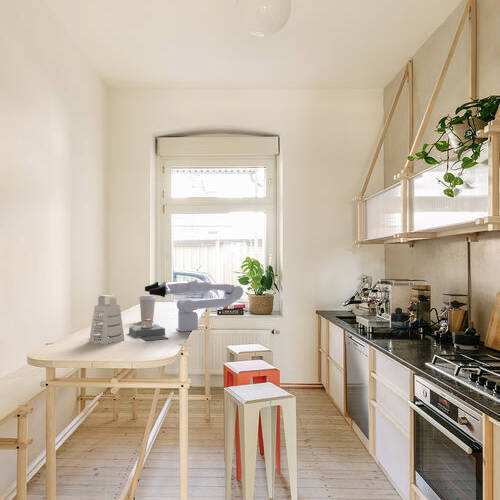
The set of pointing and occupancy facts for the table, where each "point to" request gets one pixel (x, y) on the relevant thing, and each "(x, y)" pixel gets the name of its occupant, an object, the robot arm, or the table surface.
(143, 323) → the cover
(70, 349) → the table surface
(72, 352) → the table surface
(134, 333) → the housing
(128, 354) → the table surface
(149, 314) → the coffee cup
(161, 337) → the mat
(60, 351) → the table surface
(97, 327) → the grater
